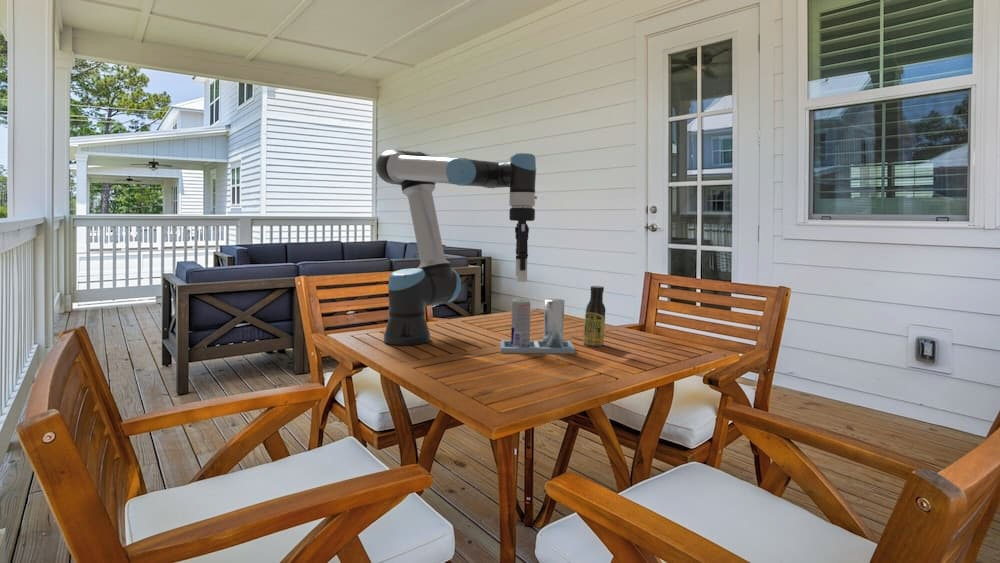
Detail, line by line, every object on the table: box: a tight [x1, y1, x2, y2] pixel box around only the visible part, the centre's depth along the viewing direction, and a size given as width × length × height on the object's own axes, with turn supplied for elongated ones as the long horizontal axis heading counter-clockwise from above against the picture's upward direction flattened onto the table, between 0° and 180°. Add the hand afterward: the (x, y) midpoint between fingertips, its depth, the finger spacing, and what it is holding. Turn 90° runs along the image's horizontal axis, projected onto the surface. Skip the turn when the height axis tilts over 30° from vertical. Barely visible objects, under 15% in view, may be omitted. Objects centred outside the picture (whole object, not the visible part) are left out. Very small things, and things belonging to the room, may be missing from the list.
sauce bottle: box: [583, 285, 606, 348], centre depth 171 cm, size 6×6×20 cm
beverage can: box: [510, 298, 531, 347], centre depth 165 cm, size 6×6×15 cm
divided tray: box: [499, 339, 576, 354], centre depth 166 cm, size 22×10×3 cm, turn 91°
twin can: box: [542, 298, 565, 348], centre depth 165 cm, size 6×6×15 cm
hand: (521, 278), depth 163 cm, fingers open, 13 cm apart
